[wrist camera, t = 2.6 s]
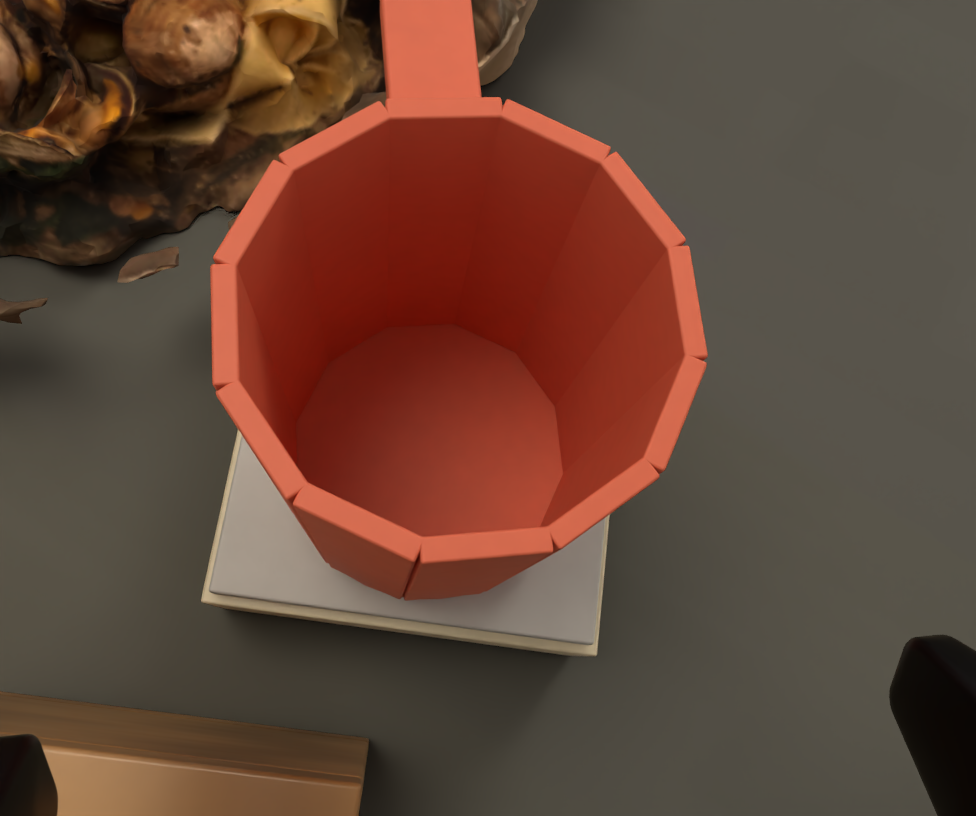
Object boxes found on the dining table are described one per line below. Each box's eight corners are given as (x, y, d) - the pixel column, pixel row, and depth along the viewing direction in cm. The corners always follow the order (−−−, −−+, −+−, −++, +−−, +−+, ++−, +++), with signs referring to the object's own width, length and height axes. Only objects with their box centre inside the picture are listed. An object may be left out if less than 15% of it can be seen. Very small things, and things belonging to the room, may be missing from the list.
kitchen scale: (571, 656, 20) (603, 657, 17) (221, 608, 20) (194, 601, 17) (601, 361, 22) (633, 318, 19) (284, 309, 22) (269, 257, 19)
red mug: (584, 585, 18) (740, 536, 10) (290, 612, 17) (215, 582, 9) (538, 212, 20) (637, -65, 12) (275, 221, 19) (203, -70, 11)
